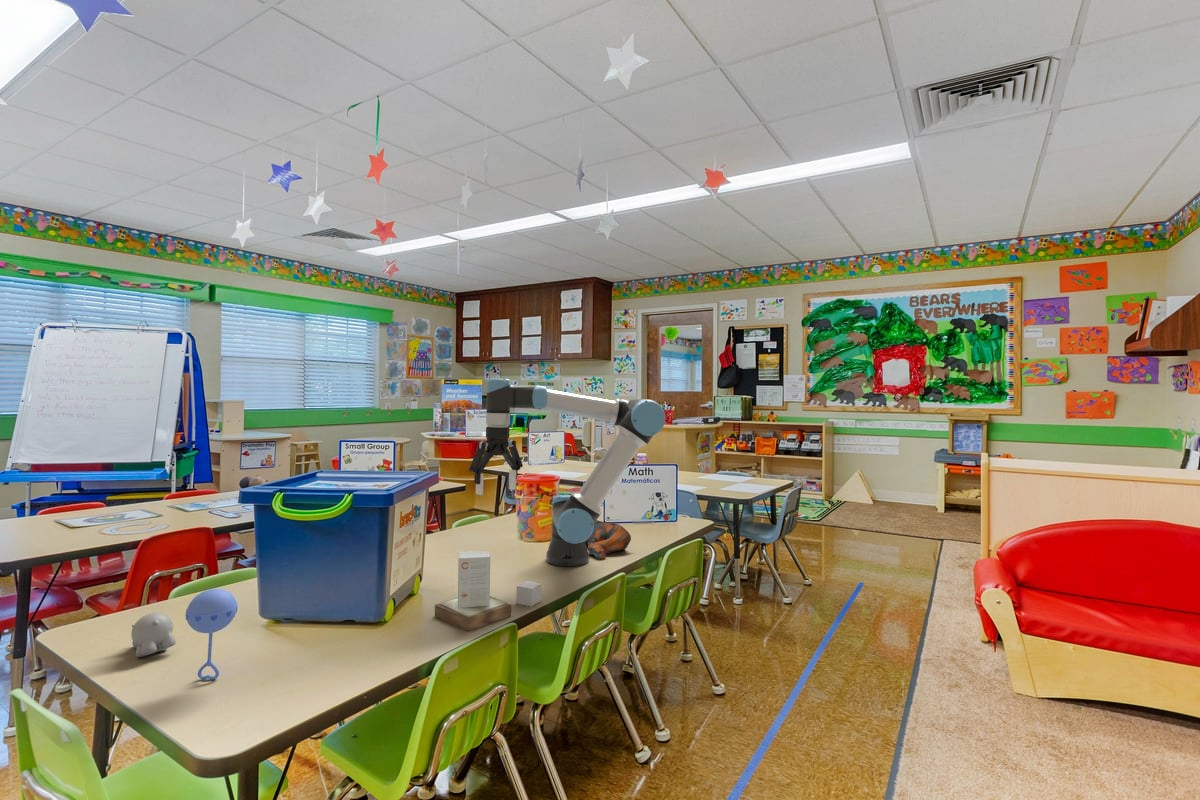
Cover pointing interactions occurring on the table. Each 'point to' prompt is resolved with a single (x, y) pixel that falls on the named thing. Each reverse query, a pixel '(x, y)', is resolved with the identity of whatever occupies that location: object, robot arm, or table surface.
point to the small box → (473, 579)
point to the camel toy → (607, 539)
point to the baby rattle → (211, 618)
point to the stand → (472, 613)
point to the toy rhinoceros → (152, 634)
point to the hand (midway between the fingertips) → (496, 492)
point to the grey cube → (528, 593)
